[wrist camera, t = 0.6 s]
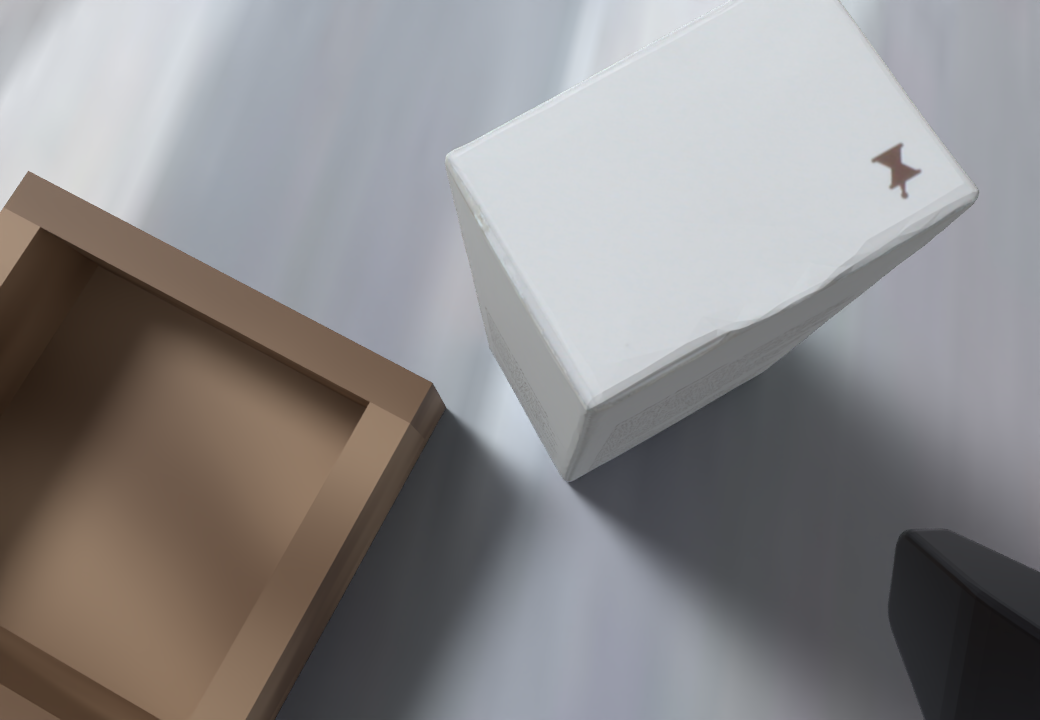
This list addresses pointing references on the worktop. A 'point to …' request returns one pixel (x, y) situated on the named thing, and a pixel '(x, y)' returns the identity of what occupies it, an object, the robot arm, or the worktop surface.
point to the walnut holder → (175, 473)
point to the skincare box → (693, 218)
